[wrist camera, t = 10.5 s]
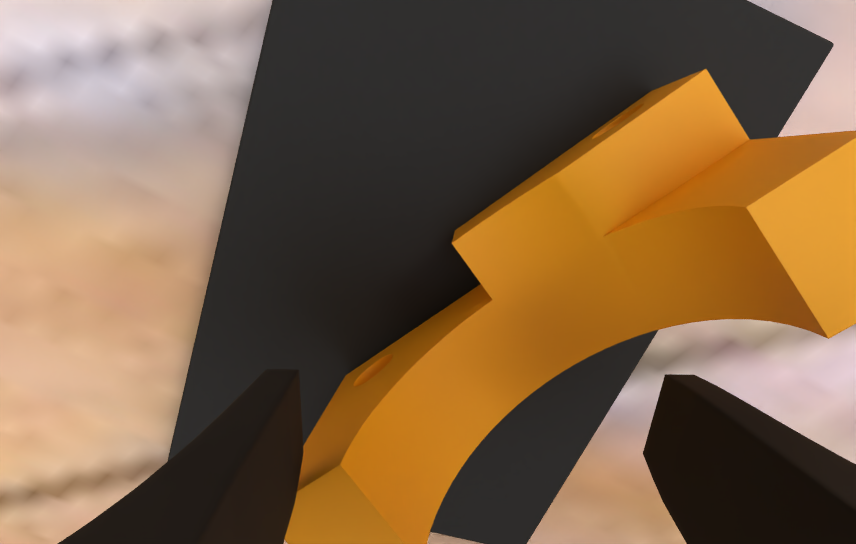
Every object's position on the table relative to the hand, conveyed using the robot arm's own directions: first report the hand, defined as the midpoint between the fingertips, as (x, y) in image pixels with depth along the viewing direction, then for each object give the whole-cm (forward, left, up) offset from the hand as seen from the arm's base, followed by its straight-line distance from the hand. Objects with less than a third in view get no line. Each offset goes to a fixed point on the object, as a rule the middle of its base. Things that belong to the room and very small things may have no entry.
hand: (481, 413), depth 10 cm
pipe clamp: (+1, -1, -6) cm, 6 cm away
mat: (0, 0, -7) cm, 7 cm away
